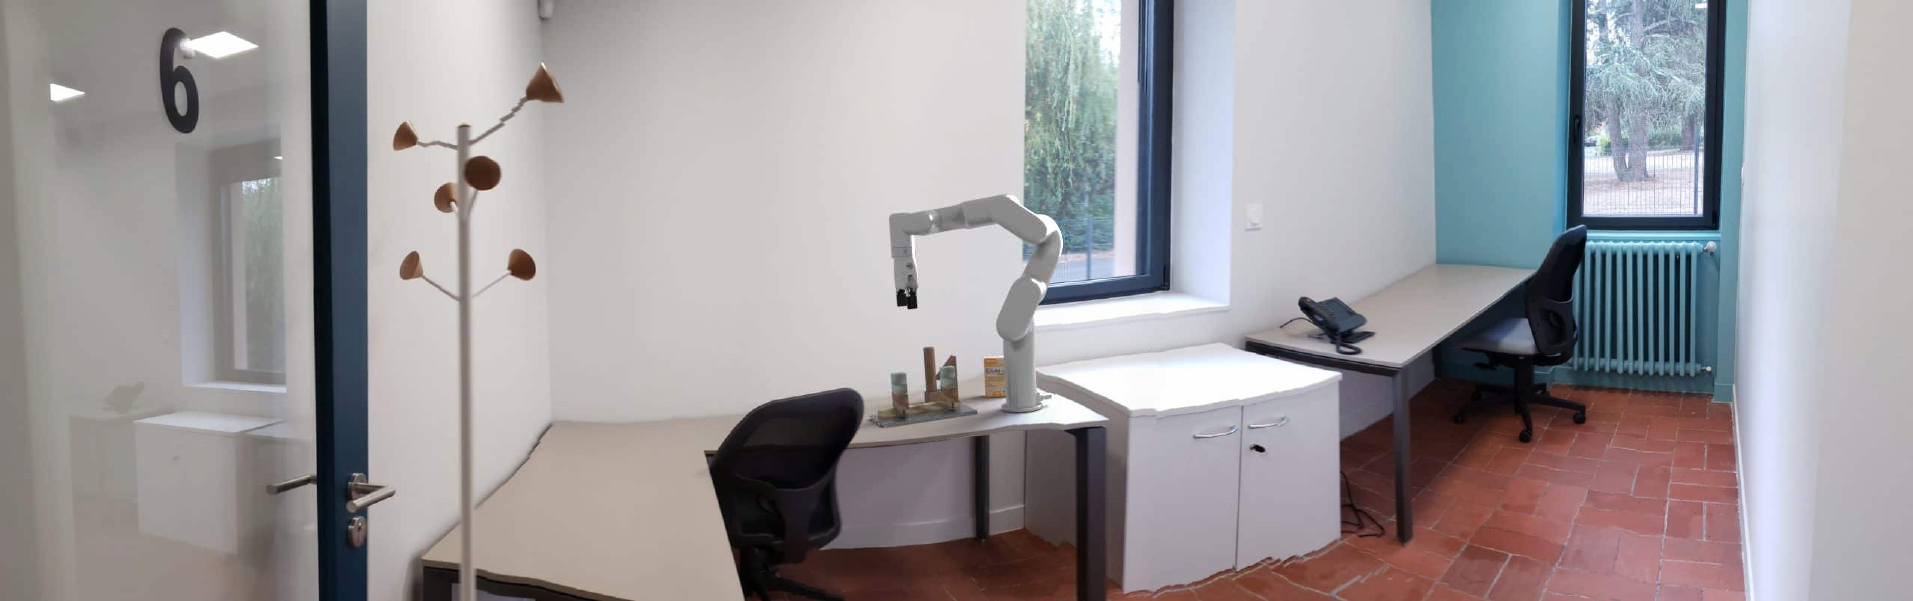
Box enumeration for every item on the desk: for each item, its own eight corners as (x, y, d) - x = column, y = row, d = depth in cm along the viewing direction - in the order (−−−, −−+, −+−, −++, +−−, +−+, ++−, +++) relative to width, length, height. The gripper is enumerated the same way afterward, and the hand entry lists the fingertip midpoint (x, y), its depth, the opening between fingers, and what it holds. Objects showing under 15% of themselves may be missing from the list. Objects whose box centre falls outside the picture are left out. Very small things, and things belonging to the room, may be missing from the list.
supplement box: (985, 397, 340) (982, 358, 339) (987, 394, 345) (984, 355, 344) (1010, 397, 339) (1008, 357, 338) (1012, 394, 344) (1009, 354, 342)
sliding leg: (904, 411, 320) (901, 371, 319) (911, 414, 314) (908, 374, 313) (891, 412, 319) (888, 372, 318) (898, 416, 313) (895, 375, 312)
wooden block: (959, 399, 341) (955, 344, 339) (929, 404, 336) (925, 348, 334) (953, 397, 344) (950, 343, 342) (924, 402, 339) (920, 347, 337)
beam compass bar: (957, 404, 327) (954, 363, 326) (965, 408, 321) (963, 366, 320) (878, 416, 318) (875, 374, 316) (885, 420, 312) (882, 377, 310)
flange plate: (960, 405, 331) (959, 402, 331) (977, 413, 318) (977, 409, 318) (869, 418, 320) (869, 415, 320) (883, 427, 307) (883, 423, 307)
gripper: (924, 252, 317) (928, 308, 319) (905, 250, 333) (909, 304, 335) (901, 254, 315) (904, 311, 317) (883, 252, 331) (887, 306, 333)
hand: (907, 307), depth 326 cm, fingers open, 9 cm apart
